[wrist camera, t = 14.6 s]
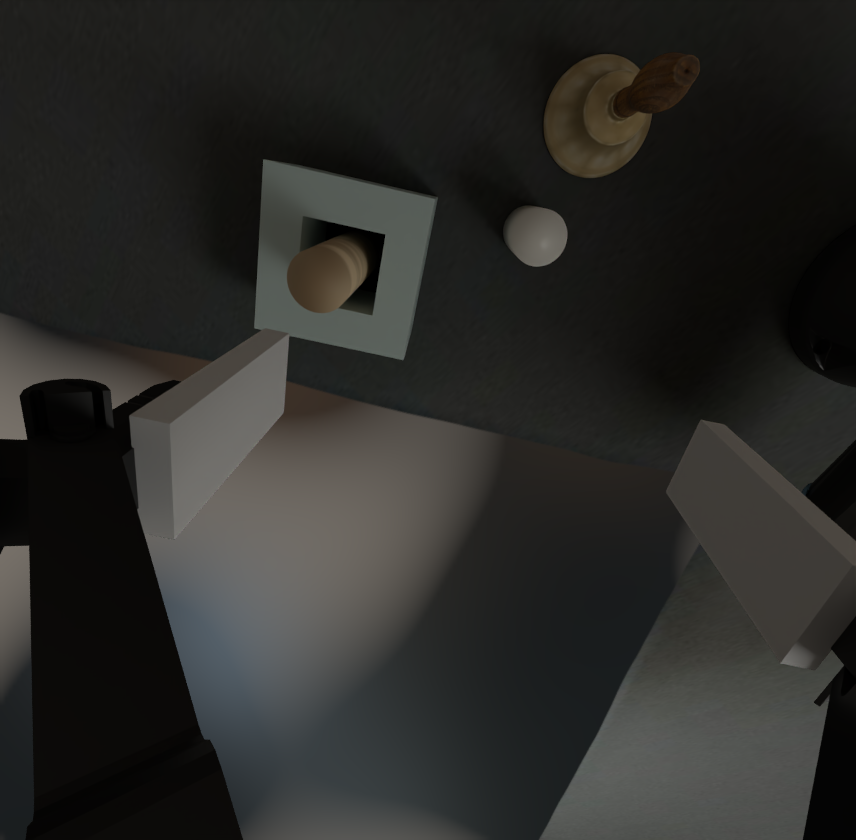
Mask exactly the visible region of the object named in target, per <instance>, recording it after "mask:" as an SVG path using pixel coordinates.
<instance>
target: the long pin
mask: <svg viewBox="0 0 856 840" xmlns="http://www.w3.org/2000/svg"><path fill="white" fill-rule="evenodd" d="M379 257H380V253H379V248H378V245H377V243H376V242H375V240H374V239H373V238H372V237H371V236H370V235H369V234H367V233H365V232H363V231H359V230H353V231H349V232H346V233H344V234H342V235H339V236H337V237H334V238H332V239H330V240H327V241H325V242H323V243H320V244H318V245H315V246H313V247H311V248H308V249H306V250H303V251H301V252H300V253H298V254H297V255H296V256H295V257H294V258H293V259H292V261H291V262H290V264H289V267H288V270H287V284H288V288H289V291H290V293H291V295H292V296H293V298H294V299H295V300H296V302H297V303H298V304H299V305H301V306H302V307H303V308H305V309H307V310H309V311H312V312H315V313H328V312H331V311H334V310H336V309H337V308H339V307H340V306H341V305H342V304H343V303H344V302H345V301H346V300H347V299H348V298H349V297H350V296H351V294H352V293H353V292H354V291H355V290H356V289H357V288H358V287H359V286H360V285H361V284H362V283H363V282H364V281H365V280H366V279H367V277H368V276H369V275H370V274H371V273H372V272H373V271H374V270H375V269H376V267H377V265H378V263H379Z"/></svg>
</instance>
